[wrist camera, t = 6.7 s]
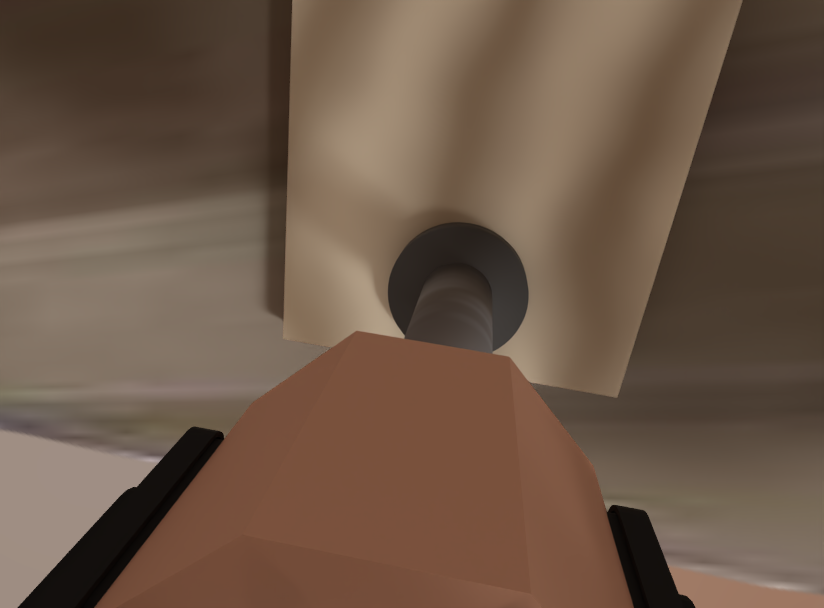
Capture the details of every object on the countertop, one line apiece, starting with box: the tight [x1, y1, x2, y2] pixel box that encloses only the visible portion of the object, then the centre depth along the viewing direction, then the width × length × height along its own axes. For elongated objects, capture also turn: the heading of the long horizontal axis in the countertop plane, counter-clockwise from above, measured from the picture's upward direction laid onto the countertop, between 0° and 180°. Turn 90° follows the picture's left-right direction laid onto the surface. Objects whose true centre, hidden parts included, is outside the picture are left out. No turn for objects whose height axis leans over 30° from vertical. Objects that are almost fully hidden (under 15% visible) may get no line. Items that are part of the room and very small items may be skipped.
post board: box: [283, 0, 743, 398], centre depth 18 cm, size 16×20×8 cm
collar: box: [94, 331, 634, 608], centre depth 9 cm, size 7×7×5 cm
